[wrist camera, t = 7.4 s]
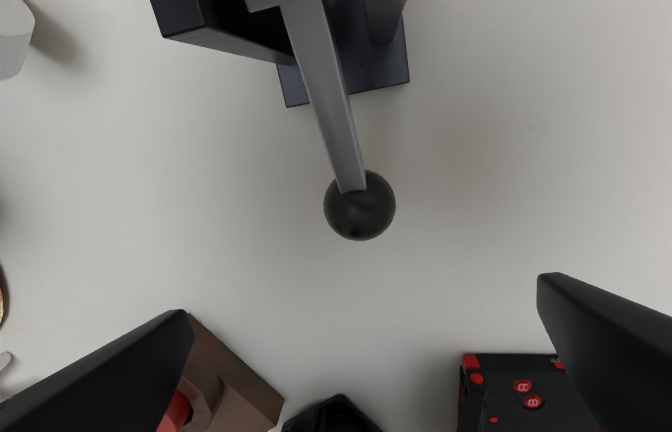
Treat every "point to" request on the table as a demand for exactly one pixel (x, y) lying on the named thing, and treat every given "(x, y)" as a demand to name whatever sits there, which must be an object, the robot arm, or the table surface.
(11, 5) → the globe emblem disc
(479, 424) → the handheld gaming console
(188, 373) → the control box
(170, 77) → the table surface
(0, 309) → the cake on gold board
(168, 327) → the robot arm
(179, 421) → the button
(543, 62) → the table surface
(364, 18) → the bracket
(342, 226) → the lever
